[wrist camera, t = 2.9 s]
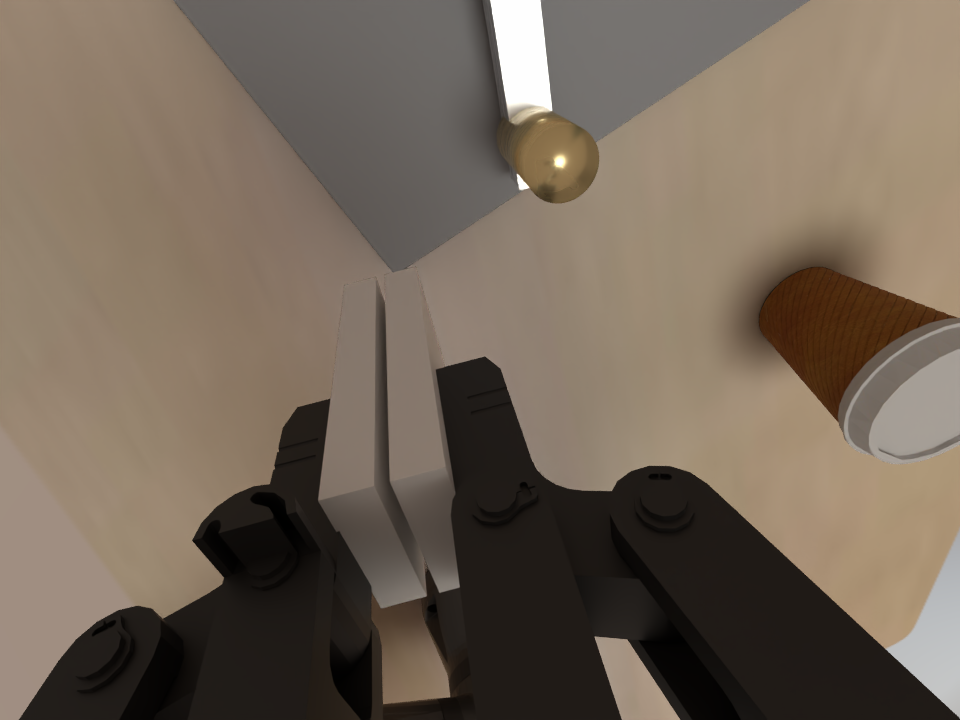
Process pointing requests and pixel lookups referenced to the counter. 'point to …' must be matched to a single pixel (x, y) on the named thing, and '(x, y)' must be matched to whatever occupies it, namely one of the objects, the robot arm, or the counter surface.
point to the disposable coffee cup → (871, 362)
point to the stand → (449, 91)
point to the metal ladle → (534, 108)
